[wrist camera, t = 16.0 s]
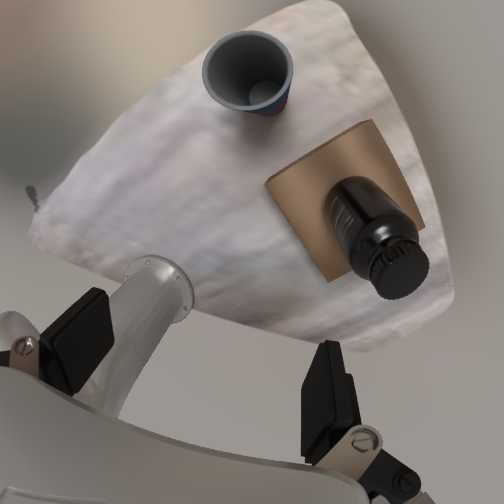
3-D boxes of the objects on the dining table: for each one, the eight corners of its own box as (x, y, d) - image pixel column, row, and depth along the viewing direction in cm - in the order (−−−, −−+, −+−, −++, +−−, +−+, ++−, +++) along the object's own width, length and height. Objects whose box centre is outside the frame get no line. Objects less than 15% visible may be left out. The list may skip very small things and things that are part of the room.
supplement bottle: (348, 240, 31) (387, 320, 21) (309, 205, 28) (344, 286, 18) (391, 201, 28) (449, 271, 18) (356, 160, 25) (420, 222, 15)
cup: (304, 108, 31) (309, 86, 17) (255, 131, 33) (226, 126, 19) (278, 64, 29) (265, 17, 15) (230, 87, 31) (187, 57, 17)
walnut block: (324, 262, 39) (328, 282, 33) (269, 177, 35) (264, 184, 30) (408, 213, 34) (425, 226, 28) (359, 122, 30) (371, 119, 25)
